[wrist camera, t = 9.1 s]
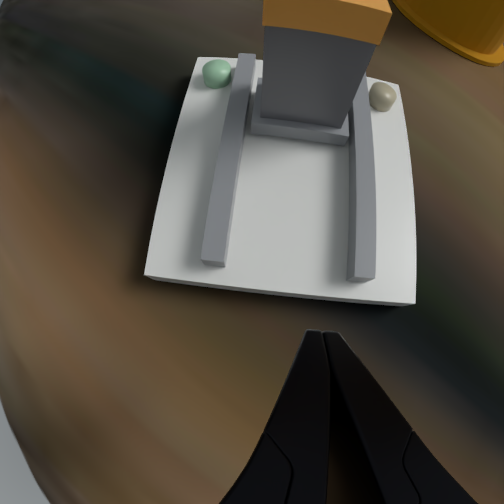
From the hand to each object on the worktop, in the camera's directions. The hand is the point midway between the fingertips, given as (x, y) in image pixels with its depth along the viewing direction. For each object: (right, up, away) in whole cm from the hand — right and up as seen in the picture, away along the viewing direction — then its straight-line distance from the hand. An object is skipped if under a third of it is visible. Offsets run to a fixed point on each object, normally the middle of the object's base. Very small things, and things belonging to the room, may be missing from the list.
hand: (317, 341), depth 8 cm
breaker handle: (+1, +11, +12) cm, 17 cm away
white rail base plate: (+1, +8, +14) cm, 16 cm away
